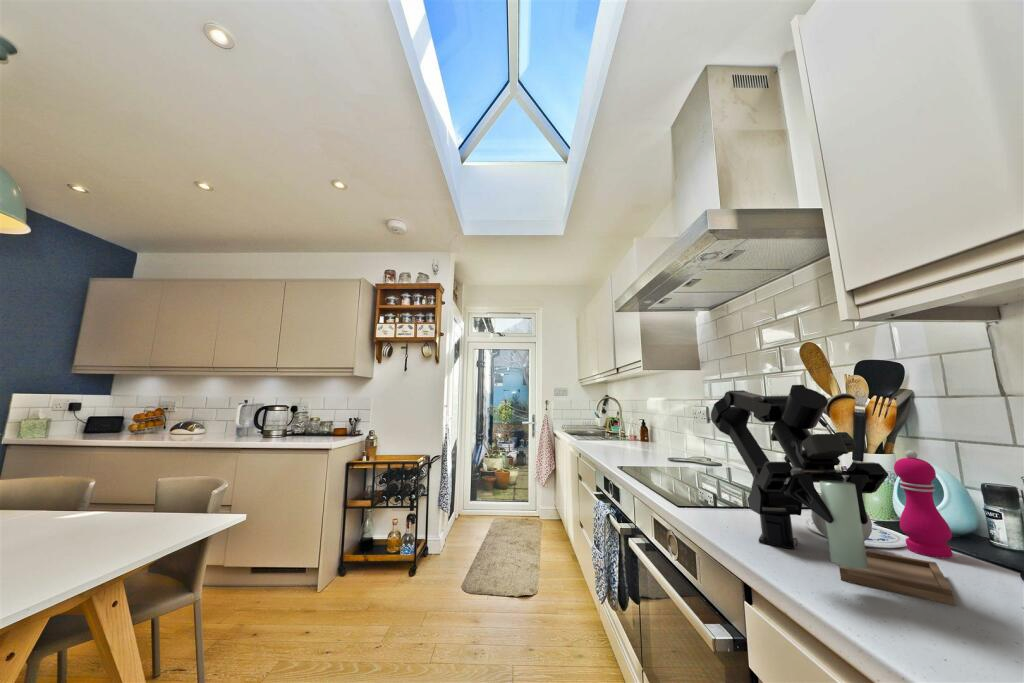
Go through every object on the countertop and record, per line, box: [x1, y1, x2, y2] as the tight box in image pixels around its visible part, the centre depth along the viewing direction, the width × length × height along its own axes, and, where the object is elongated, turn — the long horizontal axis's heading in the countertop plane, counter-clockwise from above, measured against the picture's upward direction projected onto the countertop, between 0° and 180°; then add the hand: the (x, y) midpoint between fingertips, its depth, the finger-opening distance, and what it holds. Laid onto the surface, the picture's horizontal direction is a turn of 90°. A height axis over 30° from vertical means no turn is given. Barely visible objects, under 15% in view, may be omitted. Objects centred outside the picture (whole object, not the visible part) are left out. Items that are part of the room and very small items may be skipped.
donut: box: [810, 497, 873, 542], centre depth 81 cm, size 10×4×10 cm, turn 51°
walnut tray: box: [838, 549, 955, 606], centre depth 66 cm, size 13×13×2 cm
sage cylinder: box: [819, 480, 868, 569], centre depth 62 cm, size 5×5×12 cm
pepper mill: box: [893, 449, 953, 559], centre depth 78 cm, size 7×7×20 cm
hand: (848, 522), depth 61 cm, fingers closed on sage cylinder, 5 cm apart
